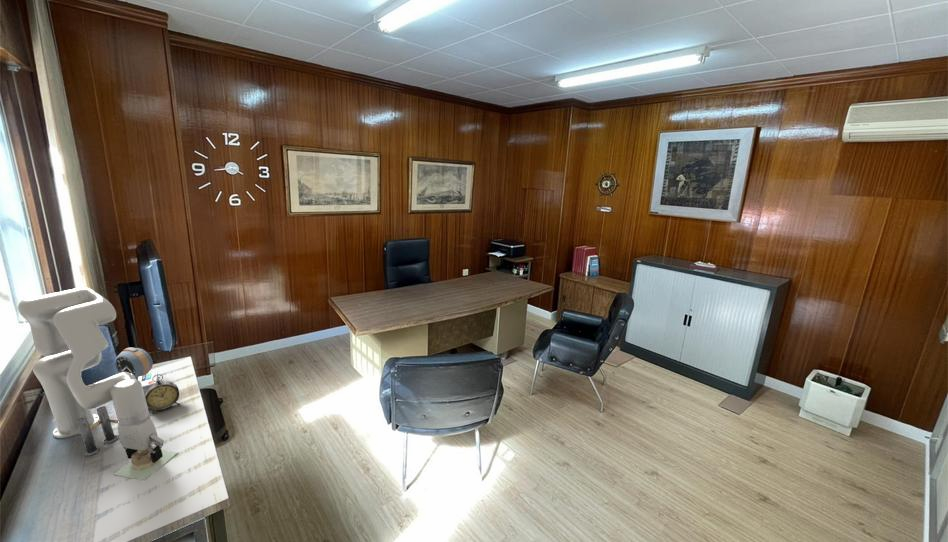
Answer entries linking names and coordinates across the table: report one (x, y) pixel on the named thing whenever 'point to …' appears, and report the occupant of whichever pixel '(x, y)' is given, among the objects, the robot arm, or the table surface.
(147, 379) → the light bulb box
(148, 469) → the pad
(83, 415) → the robot arm
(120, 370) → the alarm clock
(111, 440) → the rope barrier
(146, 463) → the pot
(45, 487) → the table surface
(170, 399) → the alarm clock
